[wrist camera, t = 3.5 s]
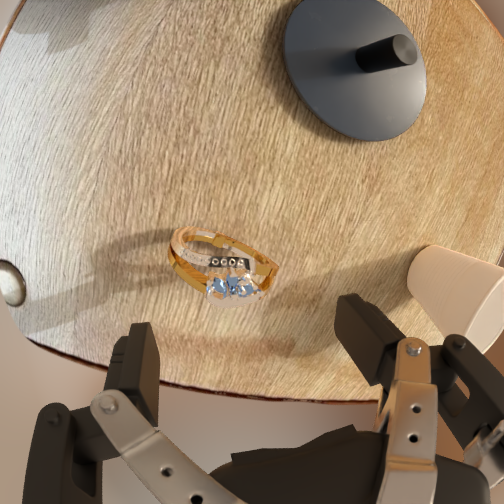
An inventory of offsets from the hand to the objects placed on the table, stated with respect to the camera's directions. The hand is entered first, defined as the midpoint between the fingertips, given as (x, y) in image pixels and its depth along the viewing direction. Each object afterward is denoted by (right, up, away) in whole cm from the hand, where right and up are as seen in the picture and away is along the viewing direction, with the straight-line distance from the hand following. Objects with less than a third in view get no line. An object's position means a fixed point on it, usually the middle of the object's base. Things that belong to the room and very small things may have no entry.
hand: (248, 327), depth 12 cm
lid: (+9, +18, +6) cm, 21 cm away
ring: (-2, +4, +10) cm, 11 cm away
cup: (+19, +1, +16) cm, 25 cm away
